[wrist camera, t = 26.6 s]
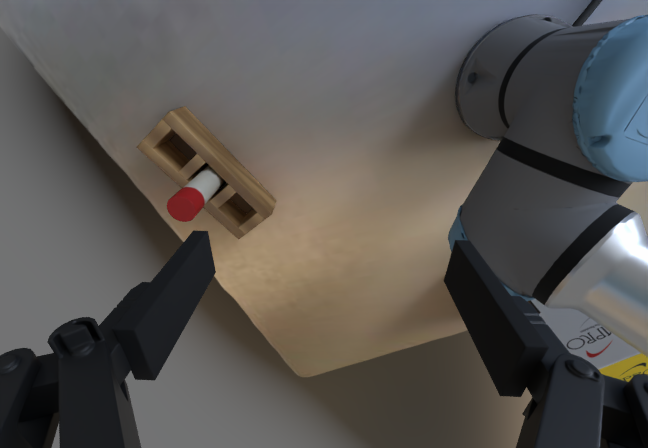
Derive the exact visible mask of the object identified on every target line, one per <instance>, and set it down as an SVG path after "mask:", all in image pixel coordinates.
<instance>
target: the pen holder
mask: <svg viewBox="0 0 648 448" xmlns="http://www.w3.org/2000/svg"><path fill="white" fill-rule="evenodd" d="M176 133H177V134H178V135H179V136H180V137H181V138H182V139H183V140H184V141H185V142H186V143H187V144H188V145H189V146H190V147H191V148H192V149H193V150H194V151H195V152H196V153H197V154H196V155H195V156H194V157H193V158H192V159H191V160H189V159H188V158H187V157H186V156H185V155H184V154H183V153H182V152H180V151H179V150H178V149H177V148H176V147H175V146H174V145H173V144H172V143H171V142H170V141H169V140H170V139H171V138H172V137H173V136H174V135H175V134H176ZM137 148H138V149H139V150H140V151H141V152H142V153H143V154H145V155H146V156H147V157H148V158H149V159H150V160H151V161H152V162H153V163H155V164H156V165H157V166H158V167H159V168H160V169H161V170H162V171H163V172H165V173H166V174H167V175H168V176H169V177H170V178H171V179H172V180H173V181H174V182H176V183H177V184H178V185H179V186H180V187H181V188H183V187H185V186H186V185H187V184H188V183H189V182H190V181H191V180H192V179H194V178H195V177H196V176H197V175H198V174H199V173H200V172H201V171H200V170H199V169H200V168H201V167H202V166H203V165H205V164H206V163H207V164H208V165H209V166H210V167H211V168H213V169H214V170H215V171H216V172H217V173H218V174H219V175H220V176H221V177H222V178H223V179H224V180H225V181H226V182H227V183H226V184H225V185H224V186H223V187H222V188H220V189H219V188H218V190H217V191H216V192H215V193H214V194H213V195H212V197H211V198H210V199H209V200H208V201H207V203H206V204H205V205H204V206H203V208H204V209H206V210H207V211H208V212H209V213H210V214H211V215H212V216H213V217H214V218H215V219H217V220H218V221H219V222H220V223H221V224H222V225H223V226H224V227H225V228H227V229H228V230H229V231H230V232H231V233H232V234H233V235H234V236H235V237H237V238H238V239H240V238H241V237H243V236H244V235H245V234H246V233H248V232H249V231H250V230H252V229H253V228H254V227H256V226H257V225H258V224H260V223H261V222H262V221H263V220H264V219H266V218H267V217H269V216H270V215H271V214H272V212H273V209H274V206H275V204H276V200H275V199H274V198H273V197H272V196H271V195H270V194H269V193H268V192H267V190H266V189H265V188H264V187H263V186H262V185H261V184H260V183H259V182H258V181H257V180H256V179H255V178H254V177H253V176H252V175H251V174H250V173H249V172H248V171H247V170H246V169H245V168H244V167H243V166H242V165H241V164H240V163H239V162H238V160H237V159H236V158H235V157H234V156H233V155H232V154H231V153H230V152H229V151H228V150H227V149H226V148H225V147H224V146H223V145H222V144H221V143H220V142H219V141H218V140H217V139H216V138H215V137H214V136H213V135H212V134H211V133H210V132H209V130H208V129H207V128H206V127H205V126H204V125H203V124H202V123H201V122H200V121H199V120H198V119H197V118H196V117H195V116H194V115H193V114H192V113H191V112H190V111H189V110H188V109H187V108H186V107H185V106H184V107H181V108H179V109H176V110H173V111H170V112H168V113H167V115H166V116H165V117H164V118H163V119H162V120H161V121H160V122H159V123H158V124H157V125H156V126H155V127H154V129H153V130H152V131H151V132H150V133H149V134H148V135H147V136H146V137H145V138H144V139H143V141H142V142H141V143H140V144H139V145H138V146H137ZM236 192H237V193H238V194H239V195H240V196H241V197H242V198H243V199H244V200H245V201H246V202H247V203H248V204H249V205H250V206H251V207H252V209H251V210H250V211H249V212H247V213H246V214H245V213H244V212H243V211H242V210H241V209H240V208H239V207H238V206H237V205H236V204H235V203H234V202H233V201H232V200H231V199H230V198H231V197H232V196H233V195H234V194H235V193H236Z"/></svg>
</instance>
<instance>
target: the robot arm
mask: <svg viewBox="0 0 648 448" xmlns="http://www.w3.org/2000/svg"><path fill="white" fill-rule="evenodd" d="M601 1H602V0H592V2H591V3H590V4H589V5H588V7H587V8H586V9H585V10H584V11H583V13H582V14H581V15H580V16H579V18H578V19H577V20H576V21H575V22H574V23H573V25H572V26H571V25H570V24H568V23H566V22H564V21H562V20H560V19H558V18H555V17H552V16H547V15H527V16H522V17H518V18H514V19H511V20H508V21H506V22H504V23H502V24H500V25H498V26H496V27H495V28H493V29H492V30H491V31H489V32H488V33H487V34H486V35H484V36H483V37H482V38H481V39H480V40H479V41H478V42H477V43H476V45H475V46H474V47H473V48H472V50H471V51H470V52H469V54H468V56H467V57H466V59H465V61H464V63H463V65H462V67H461V70H460V72H459V75H458V79H457V84H456V93H455V95H456V105H457V110H458V112H459V115H460V117H461V119H462V120H463V122H464V123H465V124H466V126H467V127H468V128H469V129H471V130H472V131H473V132H475V133H477V134H479V135H481V136H483V137H485V138H489V139H494V140H500V141H501V142H500V144H499V146H498V147H497V149H496V150H495V152H494V154H493V155H492V157H491V159H490V161H489V162H488V164H487V166H486V167H485V169H484V170H483V172H482V174H481V175H480V177H479V179H478V180H477V182H476V184H475V185H474V187H473V189H472V190H471V192H470V194H469V195H468V197H467V199H466V200H465V202H464V204H463V205H461V206H460V208H459V210H458V213H457V217H456V219H455V221H454V223H453V225H452V227H451V229H450V231H449V235H448V240H449V244H450V249H451V252H452V253H451V257H450V261H449V264H448V268H447V271H446V275H445V279H444V282H445V284H446V286H447V288H448V290H449V292H450V294H451V297H452V299H453V301H454V303H455V305H456V307H457V309H458V311H459V313H460V315H461V317H462V319H463V321H464V323H465V325H466V327H467V329H468V331H469V333H470V335H471V337H472V339H473V342H474V343H475V345H476V348H477V350H478V352H479V354H480V356H481V358H482V360H483V362H484V364H485V366H486V368H487V370H488V372H489V374H490V376H491V378H492V380H493V382H494V384H495V386H496V389H497V390H498V393H499V395H500V396H513V397H521V396H522V394H523V392H524V390H525V388H526V387H527V388H528V390H529V392H530V394H531V395H532V399H531V401H530V402H529V404H528V406H527V407H526V409H525V411H524V412H523V415H524V416H525V419H524V423H523V426H522V429H521V433H520V436H519V439H518V443H517V446H516V448H648V375H645V374H636V375H635V376H634V377H632V379H631V380H630V381H629V382H627V381H623V380H620V379H617V378H613V377H610V376H606V375H603V374H601V372H600V371H599V370H598V369H597V368H596V367H595V366H594V365H593V364H591V363H590V362H589V361H587V360H585V359H583V358H582V357H579V356H576V355H574V354H571V353H570V352H569V351H568V350H567V348H566V347H565V346H564V345H563V343H562V342H561V341H560V340H559V338H558V337H557V336H556V335H555V333H554V332H553V331H552V330H551V328H550V327H549V326H548V325H547V324H546V322H545V321H544V320H543V318H542V317H541V316H539V313H538V312H537V311H536V310H535V308H534V307H533V306H532V305H531V304H530V303H529V302H527V301H530V300H533V299H536V300H538V301H539V302H540V303H542V304H543V305H545V306H546V307H547V308H571V309H575V310H579V311H580V312H582V313H583V314H585V315H586V316H588V317H589V318H591V319H592V320H594V321H595V322H596V323H598V324H599V325H601V326H602V327H604V328H605V329H607V330H608V331H610V332H611V333H613V334H614V335H616V336H617V337H619V338H620V339H621V340H623V341H624V342H626V343H627V344H629V345H630V346H632V347H633V348H635V349H636V350H638V351H639V352H641V353H642V354H644V355H645V356H646V357H648V236H647V235H646V232H645V229H644V226H643V223H642V220H641V216H640V214H638V213H636V212H635V211H632V210H630V209H628V208H625V207H623V206H621V205H619V204H617V203H616V201H617V200H618V199H619V197H620V196H621V195H622V194H623V193H624V192H625V191H626V189H627V188H628V187H629V186H630V185H631V184H632V182H643V181H648V15H642V16H637V17H634V18H631V19H626V20H619V21H611V22H604V23H597V24H590V25H583V26H582V24H583V23H584V22H585V21H586V20H587V18H588V17H589V16H590V15H591V14H592V12H593V11H594V10H595V9H596V8H597V6H598V5H599V4H600V2H601ZM215 273H216V271H215V266H214V261H213V256H212V251H211V246H210V240H209V235H208V231H193V232H192V233H191V234H190V235H189V237H188V238H187V239H186V240H185V242H184V243H183V244H182V245H181V246H180V248H179V249H178V250H177V251H176V253H175V254H174V255H173V256H172V257H171V259H170V260H169V261H168V262H167V263H166V264H165V266H164V267H163V268H162V269H161V271H160V272H159V273H158V274H157V275H156V277H155V278H154V279H153V280H152V281H151V282H142V283H140V284H139V285H138V286H136V287H134V288H133V289H131V290H130V291H129V293H128V294H127V295H126V296H125V297H124V298H123V300H122V301H121V302H120V303H119V304H118V305H117V307H116V308H114V309H113V311H112V312H111V313H110V314H109V315H108V316H107V317H106V319H105V320H104V321H103V322H102V323H101V324H100V325H99V326H98V324H97V322H96V321H95V319H93V318H90V317H82V318H78V319H74V320H71V321H69V322H67V323H65V324H63V325H61V326H60V327H59V328H57V329H56V330H55V331H54V332H53V333H52V334H51V335H50V336H49V339H48V344H49V345H50V347H51V348H52V350H53V352H54V353H52V354H47V355H42V356H37V357H36V355H35V354H34V352H33V351H32V350H31V349H27V348H20V349H15V350H12V351H9V352H6V353H4V354H2V355H1V356H0V448H51V447H52V444H53V440H54V437H55V434H56V430H57V427H58V423H59V429H60V430H59V431H60V432H59V433H60V448H141V445H140V440H139V436H138V431H137V427H136V422H135V418H134V414H133V409H132V405H131V400H130V396H129V391H128V387H127V384H126V381H125V378H126V376H127V375H128V373H129V372H130V370H131V371H132V373H133V375H134V378H135V379H137V380H155V379H156V378H157V376H158V374H159V372H160V370H161V369H162V367H163V365H164V363H165V362H166V360H167V358H168V356H169V354H170V353H171V351H172V349H173V347H174V345H175V344H176V342H177V340H178V338H179V337H180V335H181V333H182V331H183V330H184V328H185V326H186V324H187V322H188V321H189V319H190V317H191V315H192V314H193V312H194V310H195V308H196V306H197V304H198V303H199V301H200V299H201V298H202V296H203V294H204V292H205V290H206V289H207V287H208V285H209V283H210V282H211V280H212V278H213V276H214V274H215Z"/></svg>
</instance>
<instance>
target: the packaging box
mask: <svg viewBox="0 0 648 448" xmlns="http://www.w3.org/2000/svg"><path fill="white" fill-rule="evenodd" d="M527 302H529V303H530V304H531V305H532V306H533V307H534V308H535V310H536V311H537V312H538V313H539V316H541V317H542V318H543V320H544V321H545V322H546V324H547V325H548V326H549V327H550V328H551V330H552V331H553V332H554V333H555V335H556V336H557V337H558V338H559V340H560V341H561V342H562V343H563V345H564V346H565V347H566V348H567V350H568V351H569V352H570V353H571V354H574V355H576V356H579V357H582V358H583V359H585V360H587V361H589V362H590V363H591V364H593V365H594V366H595V367H596V368H597V369H598V370H599V371H600V372H601V374H603V375H606V376H610V377H613V378H617V379H620V380H623V381H627V382H629V381H630V380H631V379H632V377H634V376H635V375H636V374H645V375H648V357H646V356H645V355H644V354H642V353H641V352H639V351H638V350H636V349H635V348H633V347H632V346H630V345H629V344H627V343H626V342H624V341H623V340H621V339H620V338H619V337H617V336H616V335H614V334H613V333H611V332H610V331H608V330H607V329H605V328H604V327H602V326H601V325H599V324H598V323H596V322H595V321H594V320H592V319H591V318H589V317H588V316H586V315H585V314H583V313H582V312H580V311H579V310H575V309H571V308H547V307H546V306H545V305H543V304H542V303H540V302H539V301H538V300H536V299H533V300H530V301H527Z"/></svg>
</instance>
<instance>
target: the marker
mask: <svg viewBox="0 0 648 448" xmlns="http://www.w3.org/2000/svg"><path fill="white" fill-rule="evenodd" d="M224 181H225V180H224V179H223V178H222V177H221V176H220V175H219V174H218V173H217V172H216V171H215V170H214V169H213V168H211V167H210V166H209V165H208V166H207V167H206V168H205V169H204V170H203V171H201V172H200V173H199V174H198V175H197V176H196V177H195V178H194V179H192V180H191V181H190V182H189V183H188V184H187V185H186V186H185V187H183V188H182V189H181V190H179V191H178V192H177V193H176V194H175V195H174V196H173V197H172V198H170V199H169V201H168V203H167V209H168V212H169V213H170V215H171V216H172V217H173V218H175V219H176V220H179V221H182V222H187V221H191V220H192V219H193V218H194V217H195V216H196V215H197V214H198V213H199V211H200V210H201V209H202V208H203V206H204V205H205V204H206V203H207V201H208V200H209V199H210V198H211V197H212V195H213V194H214V193H215V192H216V191H217V190H218V188H219V187H220V186H221V185H222V184H223V182H224Z"/></svg>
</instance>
